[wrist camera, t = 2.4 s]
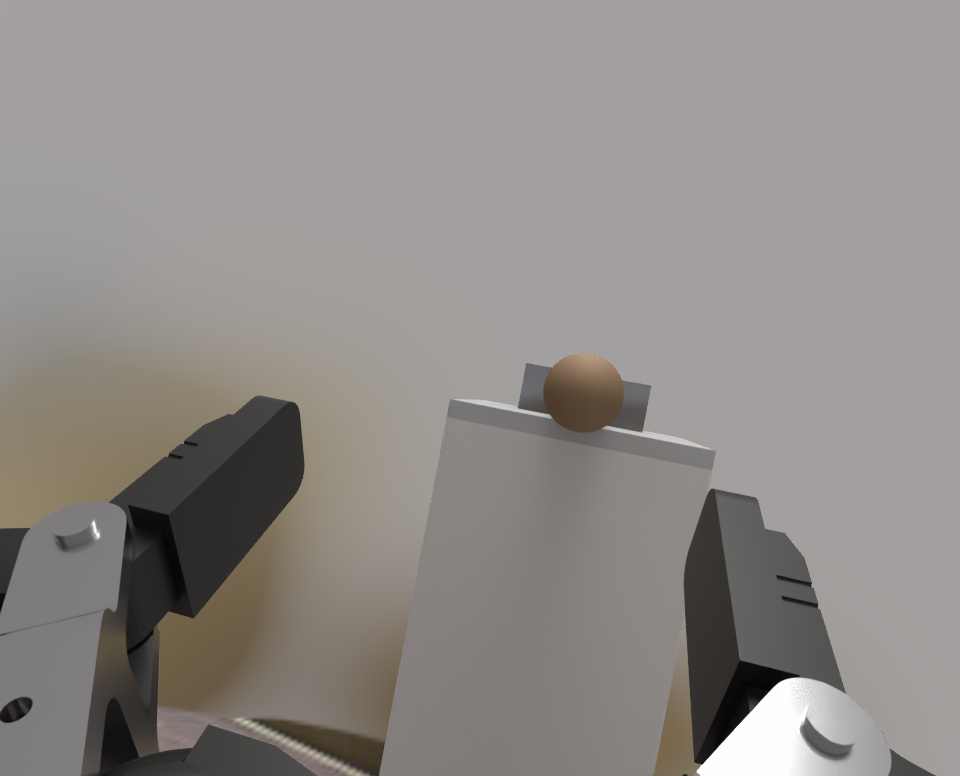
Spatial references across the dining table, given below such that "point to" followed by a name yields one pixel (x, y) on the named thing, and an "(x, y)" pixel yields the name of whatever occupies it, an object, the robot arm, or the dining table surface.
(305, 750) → the dining table surface
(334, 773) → the dining table surface
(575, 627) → the stand
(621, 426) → the mallet
